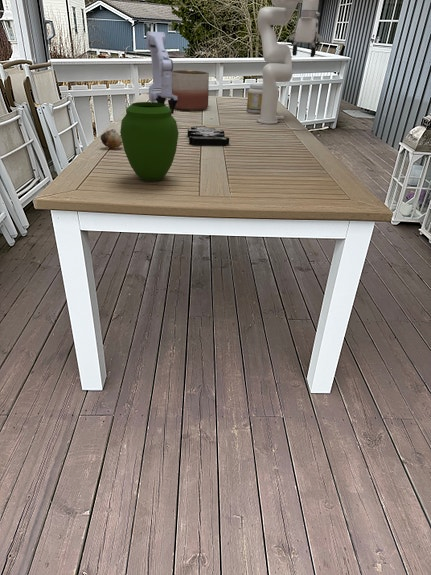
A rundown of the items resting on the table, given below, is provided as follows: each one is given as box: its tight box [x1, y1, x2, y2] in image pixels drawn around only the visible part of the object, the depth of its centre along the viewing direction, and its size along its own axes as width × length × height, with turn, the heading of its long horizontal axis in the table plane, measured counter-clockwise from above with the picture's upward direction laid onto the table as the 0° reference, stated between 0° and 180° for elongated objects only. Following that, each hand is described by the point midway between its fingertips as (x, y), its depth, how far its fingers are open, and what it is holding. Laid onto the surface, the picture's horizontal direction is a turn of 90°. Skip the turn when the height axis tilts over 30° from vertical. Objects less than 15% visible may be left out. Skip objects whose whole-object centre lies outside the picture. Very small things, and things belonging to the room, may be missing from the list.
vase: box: [119, 101, 179, 182], centre depth 140 cm, size 20×20×24 cm
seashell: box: [100, 128, 123, 149], centre depth 178 cm, size 10×6×8 cm, turn 91°
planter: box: [172, 69, 210, 112], centre depth 273 cm, size 25×25×22 cm
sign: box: [187, 125, 230, 147], centre depth 203 cm, size 19×3×30 cm
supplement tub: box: [246, 83, 263, 114], centre depth 274 cm, size 12×12×17 cm
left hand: (166, 112), depth 224 cm, fingers open, 7 cm apart
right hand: (303, 56), depth 205 cm, fingers open, 9 cm apart
